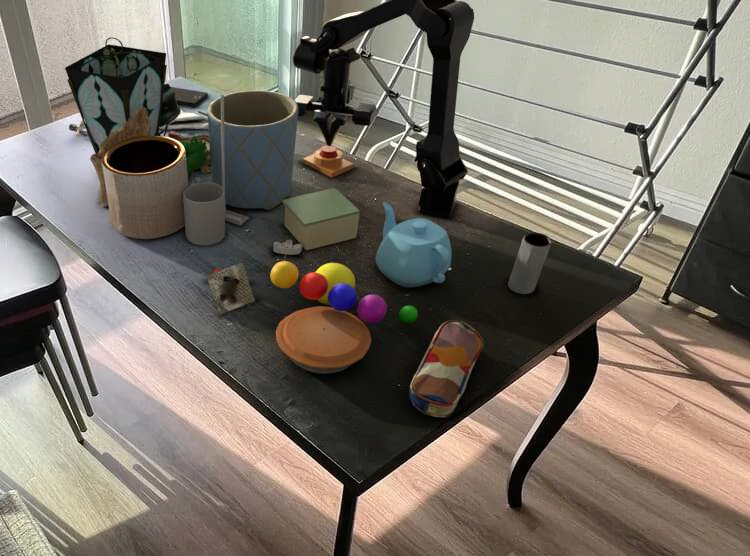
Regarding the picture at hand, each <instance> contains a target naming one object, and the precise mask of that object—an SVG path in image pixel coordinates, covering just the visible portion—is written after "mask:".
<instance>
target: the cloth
mask: <svg viewBox="0 0 750 556" xmlns="http://www.w3.org/2000/svg"><path fill="white" fill-rule="evenodd" d="M180 110H181V112H180V115H179V116H178V117H177V118H176V119H175V120H173V121H171V122H170V123H169V124H168V128H167V130H170V129H178V128H188V127H189V129H188V130H198V129H199V130H204V129H205V130H206V129H207V130H208V117H206V116H202V115H199V114H196V113H194V112H185V111H183V110H182V108H180ZM165 126H166V125H164V126H162V127H159V130H164V129H165ZM192 126H193V127H192Z"/></svg>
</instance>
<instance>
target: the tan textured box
mask: <svg viewBox="0 0 750 556" xmlns="http://www.w3.org/2000/svg"><path fill="white" fill-rule="evenodd" d="M222 269H223V268H222ZM212 273H213V272H212ZM212 273H210V274H208V275H206V278H207V283H208V282H209V283H208V285H209V288H210V292H211V296H212V298H213V301H214V304H215V306H216V309H217V312H218V315H219V316H220V315H223V314H225V313H228V312H230V311H233V310H236V309H238V308H240V307H243V306H246V305H248V304H251V303H252V302H253V303H254V302H256V298H255V296H254V293H253V290H252V287H251V285H250V280H249V277H248V274H247V272H246V269H245V265H244V262H240V263H237V264H234V265H232V266H229V267H226V268H224V269H223V270H221V271H218V272H215V273H213V274H212ZM247 277H248V278H247Z"/></svg>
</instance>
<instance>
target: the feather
mask: <svg viewBox="0 0 750 556" xmlns="http://www.w3.org/2000/svg"><path fill="white" fill-rule="evenodd" d="M192 127H193V126H192ZM187 130H190V129H189V127H188V128H178V129H169V131H170V132H171V131H172V132H176V133H185V134H186V131H187ZM188 134H189V135H190V134H191V133H190V132H188Z"/></svg>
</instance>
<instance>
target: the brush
mask: <svg viewBox="0 0 750 556" xmlns="http://www.w3.org/2000/svg"><path fill="white" fill-rule="evenodd" d="M224 95H225V94H224V93H220V97H221V156H222V188H223V189H224V195H225V156H224ZM226 205H227V204H226V199H225V222H228V223H231V224H234V225H237V226H242V225H243V224H244V223H245V222H246V221H247V220H249V219H250V216H247V215H244V214H241V213H239V212H238V213H237V212H235V211H232V210H229V209H226V208H227V207H226Z"/></svg>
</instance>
